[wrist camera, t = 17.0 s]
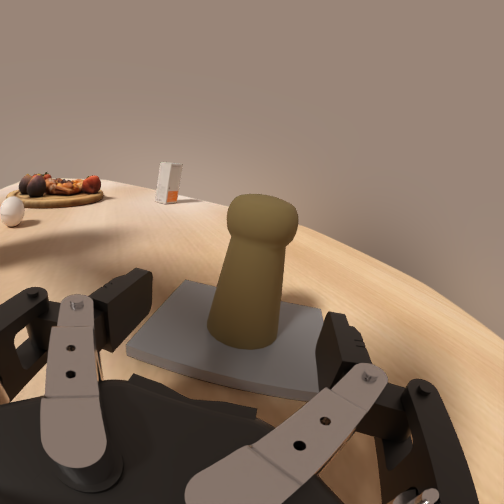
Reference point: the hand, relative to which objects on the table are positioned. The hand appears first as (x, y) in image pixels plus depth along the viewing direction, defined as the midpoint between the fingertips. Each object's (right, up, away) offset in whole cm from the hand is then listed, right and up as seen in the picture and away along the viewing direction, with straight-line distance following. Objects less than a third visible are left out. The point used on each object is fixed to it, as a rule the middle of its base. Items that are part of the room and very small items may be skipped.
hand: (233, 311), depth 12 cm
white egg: (-44, +7, +23) cm, 51 cm away
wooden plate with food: (-57, +18, +51) cm, 78 cm away
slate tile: (0, -5, +11) cm, 12 cm away
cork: (0, -4, +11) cm, 12 cm away
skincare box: (-25, +17, +67) cm, 74 cm away
